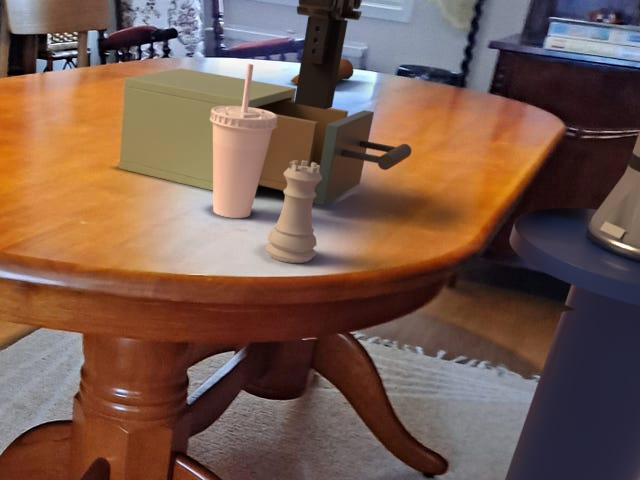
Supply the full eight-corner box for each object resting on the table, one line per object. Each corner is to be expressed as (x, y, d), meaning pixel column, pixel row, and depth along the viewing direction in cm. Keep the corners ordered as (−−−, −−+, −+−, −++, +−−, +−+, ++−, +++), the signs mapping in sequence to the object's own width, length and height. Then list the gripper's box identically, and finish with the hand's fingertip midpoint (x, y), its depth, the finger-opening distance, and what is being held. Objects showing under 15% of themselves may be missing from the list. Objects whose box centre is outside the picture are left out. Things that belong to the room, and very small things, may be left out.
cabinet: (282, 174, 99) (296, 88, 94) (236, 196, 89) (249, 100, 84) (173, 150, 105) (181, 68, 100) (119, 168, 95) (124, 77, 90)
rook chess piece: (297, 245, 76) (312, 156, 72) (325, 262, 72) (342, 170, 69) (254, 248, 74) (268, 157, 70) (281, 266, 71) (296, 172, 67)
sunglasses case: (312, 72, 177) (333, 45, 173) (337, 94, 176) (359, 68, 172) (288, 81, 162) (310, 52, 158) (315, 105, 162) (338, 77, 158)
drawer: (406, 194, 92) (423, 120, 88) (375, 217, 83) (392, 136, 79) (250, 160, 99) (259, 91, 96) (205, 178, 90) (214, 102, 87)
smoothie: (196, 217, 81) (213, 64, 74) (202, 199, 86) (218, 55, 80) (262, 225, 80) (285, 72, 74) (264, 207, 86) (285, 63, 79)
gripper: (353, -236, 63) (300, 90, 74) (286, -279, 53) (236, 106, 64) (453, -235, 60) (381, 104, 71) (402, -281, 50) (328, 124, 61)
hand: (313, 105), depth 68 cm, fingers closed
